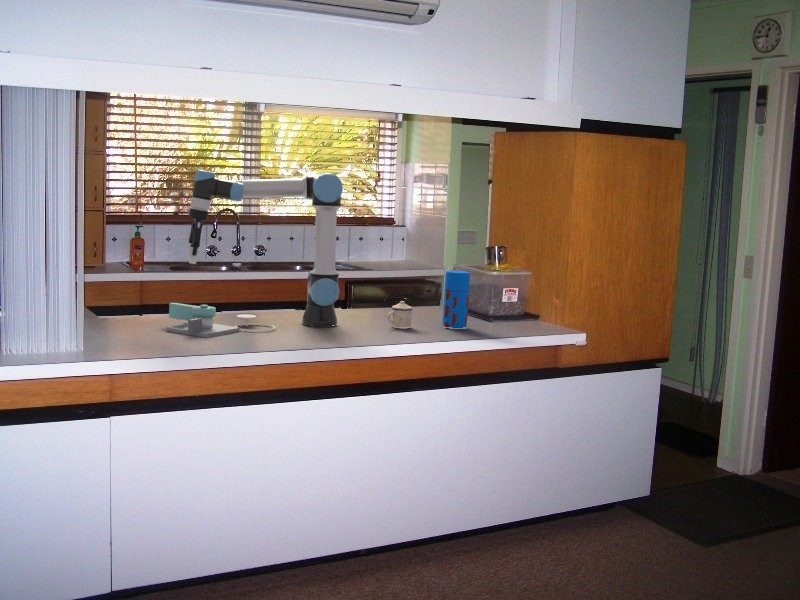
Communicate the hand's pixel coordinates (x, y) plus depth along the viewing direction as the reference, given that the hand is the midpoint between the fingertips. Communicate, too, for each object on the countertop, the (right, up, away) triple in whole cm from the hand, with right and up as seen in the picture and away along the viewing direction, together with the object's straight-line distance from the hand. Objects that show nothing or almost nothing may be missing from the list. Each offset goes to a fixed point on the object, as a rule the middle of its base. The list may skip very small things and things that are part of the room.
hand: (190, 261), depth 345 cm
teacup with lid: (+83, -28, +29) cm, 92 cm away
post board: (+6, -28, -6) cm, 29 cm away
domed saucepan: (+1, -24, -3) cm, 24 cm away
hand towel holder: (+24, -27, +8) cm, 37 cm away
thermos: (+108, -28, +37) cm, 118 cm away
